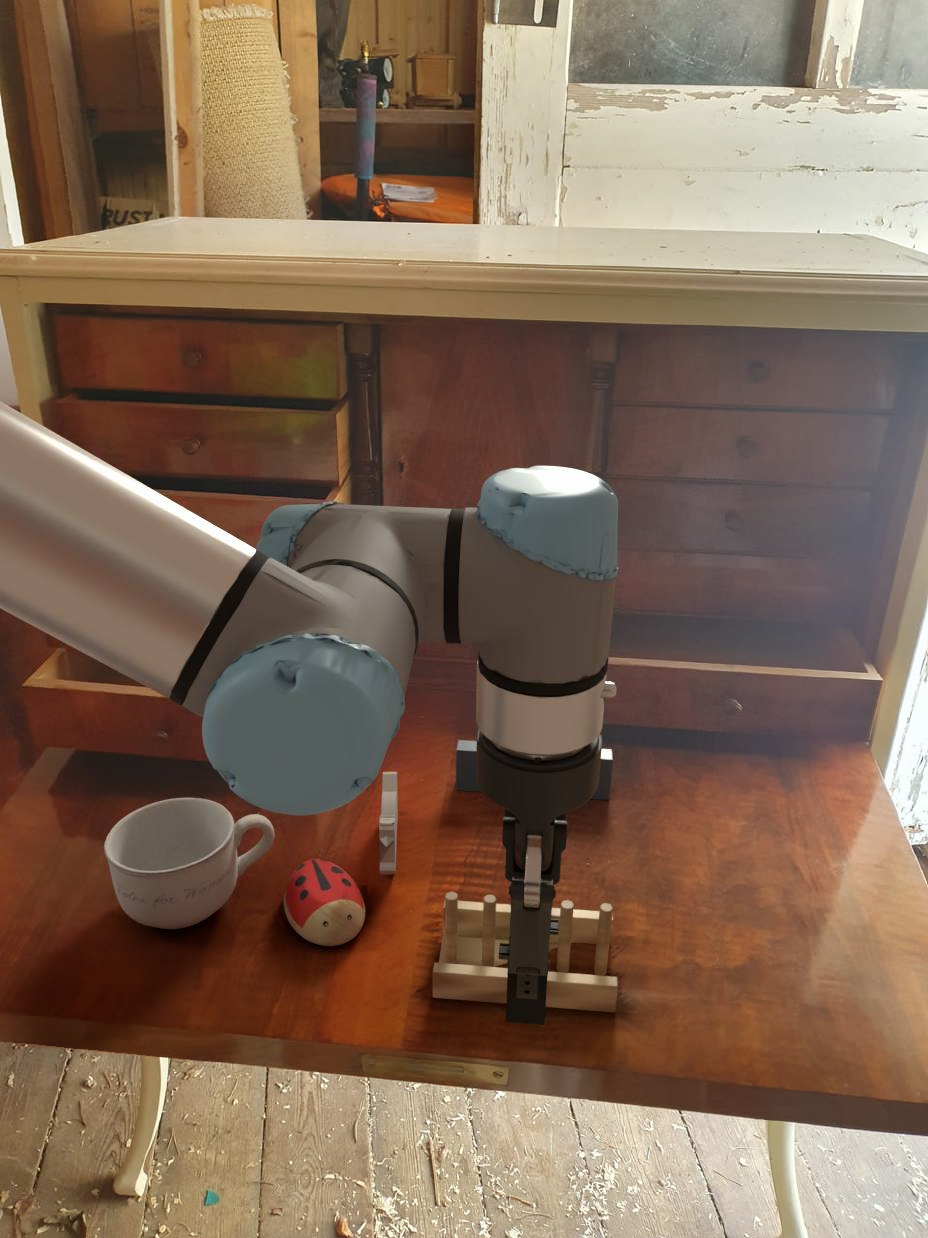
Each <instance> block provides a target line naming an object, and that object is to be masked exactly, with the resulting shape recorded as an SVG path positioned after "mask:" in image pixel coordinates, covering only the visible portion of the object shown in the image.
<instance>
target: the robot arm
mask: <svg viewBox="0 0 928 1238" xmlns="http://www.w3.org/2000/svg"><path fill="white" fill-rule="evenodd" d="M480 491H481V492H480V499H479V500H478V501H477V504H476V507H465V508H439V507H438V508H436V507H417V506H416V507H415V506H391V505H367V504H365V505H364V504H346V503H345V502H343V501H331V500H329V501H325V502H322V503H309V504H308V503H306V504H286V505H282V506H280V507H277V508H276V509H275V510H273V511H271V512H270V514H268V515H267V518H266V519H265V520H264V522H263V524H262V527H261V531H260V532H261V533H260V539H259V541H258V542H257V543H256V548H254V547H252V546H251V545H249V544H247V543H246V542H244V541H242V540H241V539H238V538H237V537H235V536H234V535H232V534H231V533H228V532H227V531H225V530H223V529H221V528H220V527H218V526H216V525H214V524H213V523H211V522H209V521H207V520H206V519H204V518H202V517H201V516H199V515H198V514H196V513H194V512H192V511H190V510H189V509H188V508H185V507H184V506H182V505H180V504H179V503H176V502H175V501H173V500H171V499H170V498H168V497H167V496H165V495H163V494H161V493H159V492H158V491H156V490H154V489H152V488H151V487H149V486H147V485H145V484H144V483H142V482H141V481H139V480H137V479H136V478H133V477H132V476H131V475H128V474H127V473H125V472H123V471H121V470H119V469H118V468H117V467H114V466H113V465H111V464H109V463H108V462H106V461H104V460H102V459H101V458H100V457H98V456H95V455H94V454H92V453H90V452H89V451H87V450H85V449H83V448H82V447H80V446H78V445H77V444H75V443H73V442H72V441H70V440H68V439H66V438H65V437H64V436H63V437H62V436H61V435H59V434H57V433H56V432H54V431H52V430H51V429H49V428H47V427H45V426H44V425H42V424H40V423H39V422H37V421H35V420H34V419H32V418H31V417H28V416H27V415H25V414H23V413H22V412H20V411H19V410H16V409H15V408H13V407H11V406H9V405H7V404H6V403H4V402H2V401H1V400H0V610H3V611H4V612H6V613H8V614H10V615H12V616H14V617H15V618H17V619H19V620H20V621H23V622H25V623H27V624H28V625H31V626H33V627H34V628H36V629H38V630H40V631H42V632H44V633H45V634H47V635H49V636H51V637H53V638H55V639H57V640H59V641H60V642H62V643H64V644H66V645H67V646H69V647H71V648H73V649H75V650H77V651H79V652H81V653H83V654H84V655H86V656H88V657H90V658H92V659H94V660H96V661H98V662H99V663H101V664H103V665H106V666H107V667H109V668H111V669H112V670H114V671H117V672H118V673H120V674H122V675H124V676H125V677H128V678H130V679H131V680H134V681H135V682H137V683H139V684H141V685H142V686H144V687H146V688H148V689H150V690H152V691H153V692H156V693H157V694H160V695H161V696H163V697H165V698H167V699H169V700H170V701H171V702H173V703H176V704H178V705H180V706H181V707H183V708H185V709H186V710H188V711H189V712H191V713H193V714H194V715H196V716H199V717H200V718H202V723H201V738H202V743H203V744H202V745H203V749H204V752H205V755H206V757H207V759H208V761H209V764H211V766H212V768H213V770H215V771H217V772H218V774H219V775H220V776H221V778H222V779H223V780H224V781H225V782H226V783H227V784H228V786H229V790H230V791H232V792H233V793H234V794H235V795H236V796H238V797H239V798H240V799H242V800H244V801H246V802H247V803H249V804H251V805H253V806H255V807H257V808H259V809H260V808H261V809H262V810H265V811H267V812H272V813H277V814H281V815H289V816H315V815H319V814H323V813H328V812H330V811H333V810H336V809H340V808H341V807H343V806H345V805H347V804H349V803H351V802H352V801H353V800H355V799H357V798H358V796H360V795H361V794H362V793H363V792H364V791H365V790H366V789H367V788H368V787H369V786H370V785H371V784H372V783H374V782H375V780H376V779H377V777H378V774H379V772H380V770H381V768H382V766H383V763H384V760H385V757H386V755H387V751H388V749H389V747H390V743H391V742H392V741H393V739H394V738H395V736H396V735H397V734H398V731H399V730H400V728H401V727H400V726H401V719H402V717H403V716H404V713H405V709H406V703H405V700H406V697H405V696H406V693H407V688H408V683H409V679H410V675H411V671H412V665H413V662H414V660H415V658H416V654H417V650H418V646H419V643H429V644H430V643H432V644H456V645H457V644H458V645H459V644H462V643H465V644H466V643H467V644H468V643H469V644H472V643H473V644H477V646H478V652H477V660H476V690H475V691H476V694H475V696H476V697H475V699H476V701H475V703H476V704H475V708H476V709H475V723H476V725H477V731H476V741H477V749H476V778H477V782H478V785H479V787H480V789H481V790H482V792H481V793H483V795H484V796H485V797H486V798H487V799H488V800H490V801H491V802H492V803H494V804H495V805H497V806H498V807H500V808H502V809H504V816H503V817H502V836H501V837H502V840H501V841H502V842H501V844H502V846H503V847H504V849H505V865H504V866H505V869H504V876H505V879H506V880H507V881H509V882H510V885H508V895H509V897H510V905H511V918H510V936H509V944H508V943H500V946H499V959H504V960H507V963H506V968H508V974H507V1001H506V1003H505V1022H506V1023H512V1024H513V1023H514V1024H524V1025H525V1024H527V1025H539V1026H545V1024H546V1010H547V1009H546V1008H547V1007H546V993H547V977H548V972H549V971H550V968H551V962H550V960H549V959H550V950H549V940H550V934H552V935H558V928H559V923H558V922H559V919H551V913H552V908H553V903H554V900H555V899H556V895H557V889H555V885H557V884H558V883H559V882H560V880H561V867H562V866H561V865H562V853H563V852H564V851H565V850H566V848H567V841H568V840H567V838H568V820H567V813H571V812H573V811H575V810H577V809H579V808H582V806H584V805H585V804H587V803H588V802H589V801H590V800H592V799H591V798H592V797H593V795H594V794H595V792H596V790H597V787H598V784H599V774H600V762H601V750H602V749H603V738H602V734H601V732H602V729H603V726H604V725H603V723H604V712H605V701H604V699H614V698H615V697H616V696H617V690H618V689H617V686H616V683H615V682H614V681H607V677H608V676H607V672H608V667H609V659H610V658H609V656H610V649H611V648H610V646H611V636H612V628H613V627H612V625H613V616H614V607H615V606H614V605H615V598H616V597H615V596H616V586H617V585H616V584H617V576H618V572H619V567H618V546H619V545H618V544H619V543H618V542H619V512H620V511H619V509H620V507H619V506H620V503H619V500H618V497H617V495H616V494H615V491H614V490H613V488H612V487H611V485H609V484H608V482H606V481H604V480H603V478H600V477H599V476H596V475H595V474H593V473H589V472H587V471H584V470H580V469H576V468H571V467H565V466H555V465H532V466H530V467H525V468H524V467H523V468H522V467H513V468H506V469H503V470H500V471H497V472H496V473H494V474H492V475H491V476H489V477H488V478H487V479H486V480H485V481H484V483H483V485H482V486H481V489H480Z"/></svg>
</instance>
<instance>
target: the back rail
mask: <svg viewBox="0 0 928 1238" xmlns="http://www.w3.org/2000/svg"><path fill="white" fill-rule="evenodd" d="M476 749H477V740H469V739H468V740H466V739H465V740H464V739H457V743H456V750H455V752H456V753H455V790H456V791H464V792H465V791H466V792H478V793H480V792H481V793H483V792H482V790H481V789H480V787H479V785H478V782H477V778H476ZM613 762H614V757H613V749H612V748H602V750H601V762H600V774H599V784H598V787H597V790H596V792H595V794H594V795H593V797H592V798H591V799H590V800H603V801H610V795H611V785H612V774H613V765H614V764H613Z"/></svg>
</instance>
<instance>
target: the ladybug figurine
mask: <svg viewBox="0 0 928 1238" xmlns="http://www.w3.org/2000/svg"><path fill="white" fill-rule="evenodd" d="M283 910H284V913H285V916H286V918H287V920H288V923H289V924H290V926H291V927H292V928H293V930H294V931H295V932H296V933H297V934H298V935H299V936H300V937H301V938H303V939H304V940H306V941H308V942H310V943H312V944H315V945H319V946H322V947H323V946H324V947H336V946H340V945H344V944H346V943H348V942H350V941H351V940H353V939H354V938H356V937H357V935H358V934H359V933H360V932H361V929H362V928H363V925H364V922H365V918H366V905H365V901H364V898H363V894H362V892H361V891H360V888H359V886H358V885H357V884H356V882H355V880H354V879H353V878H352V877H351V876H350V874H349V873H348V872H347V871H346V870H344V869H343V868H342V867H340V866H338V865H337V864H336V863H334V862H331V861H329V860H326V859H322V858H311V859H308V860H306V861H304V862H303V863H301V864H299V865H298V866H297V868H295V870H294V871H293V872H292V874H291V876H290V877H289V879H288V881H287V883H286V886H285V890H284V893H283Z"/></svg>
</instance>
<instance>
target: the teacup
mask: <svg viewBox="0 0 928 1238" xmlns="http://www.w3.org/2000/svg"><path fill="white" fill-rule="evenodd" d="M252 829H259V830H261V832H262V834H263V835H262V837H261V839H260V840H259V842H258V843H257V844H256V845H255V846H254V847H252V848H251V849H250V850H248V851H247V852H245V853H243V854H242V855H239V856H238V850H237V849H238V847H239V846H240V844H241V841H242V838H243V835H244V834H245V833H246V832H248V831H249V830H252ZM275 837H276V834H275V828H274V826H273V824H272V822H271V821H270V820H269V818H267V817H266V816H264V815H262V814H257V813H253V814H248V815H245V816H243V817H241V818H240V819H238V820H237V821H236V822H235V820H234V817H233V815H232V813H231V812H230V811H229V810H228V809H227V808H226V807H225V806H224V805H222V804H221V803H218V802H217V801H214V800H210V799H206V798H200V797H176V798H169V799H164V800H160V801H155V802H153V803H150V804H146V805H144V806H143V807H140V808H137V809H135V810H134V811H132V812H130V813H129V814H127V815H125V816H124V817H122V818H121V819H120V820H119V821H118V822H117V823H115V825H113V827H112V828H111V829H110V831H109V833H108V834H107V836H106V839H105V841H104V845H103V849H104V856H105V858H106V859H107V861H108V867H109V872H110V877H111V880H112V886H113V890H114V892H115V896H116V899H117V901H118V903H119V906H120V907H121V909H122V911H124V913H125V914H126V915H127V916H128V917H129V918H131V919H132V920H133V921H135V922H137V923H139V924H141V925H144V926H147V927H151V928H157V929H163V930H178V929H184V928H189V927H191V926H194V925H196V924H199V923H201V922H203V921H205V920H207V918H209V917H211V916H212V915H214V913H216V912H218V910H220V909H221V908H222V907H223V906H224V905H225V904H226V903H227V902H228V900H229V899H230V898H231V896H232V894H233V892H234V891H235V888H236V886H237V881H238V878H239V877H242V876H243V875H244V874H245V872H246V870H247V869H248V868H249V867H251V866H252V865H254V864H255V863H256V862H258V861H260V859H261V858H263V857H264V856H265V855H266V854H267V852H269V850H271V847H272V846H273V844H274V840H275Z"/></svg>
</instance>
